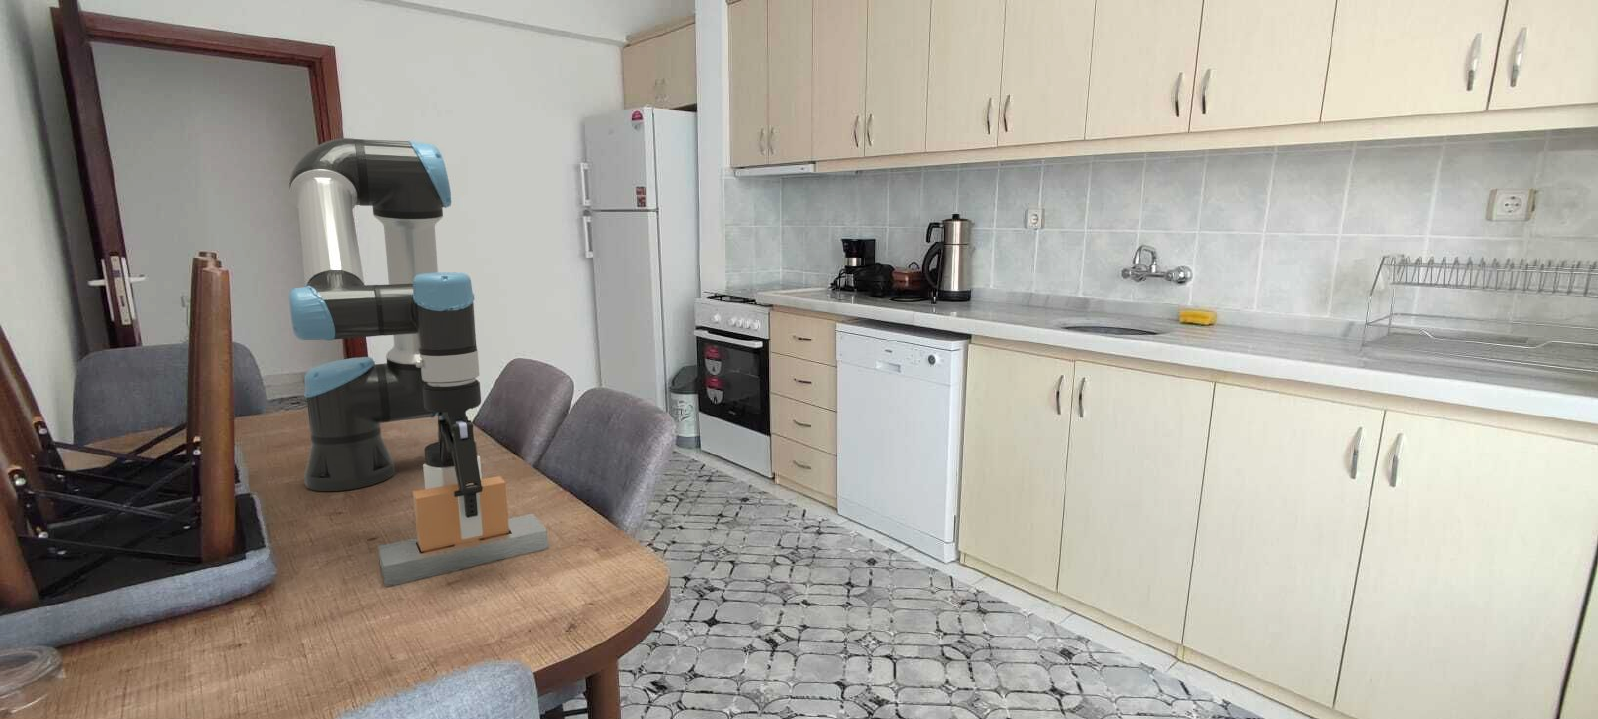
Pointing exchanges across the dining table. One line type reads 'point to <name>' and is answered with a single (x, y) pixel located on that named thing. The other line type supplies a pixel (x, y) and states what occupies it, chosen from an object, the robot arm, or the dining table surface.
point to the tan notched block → (442, 514)
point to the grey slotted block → (460, 552)
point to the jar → (436, 466)
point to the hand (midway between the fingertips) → (463, 521)
